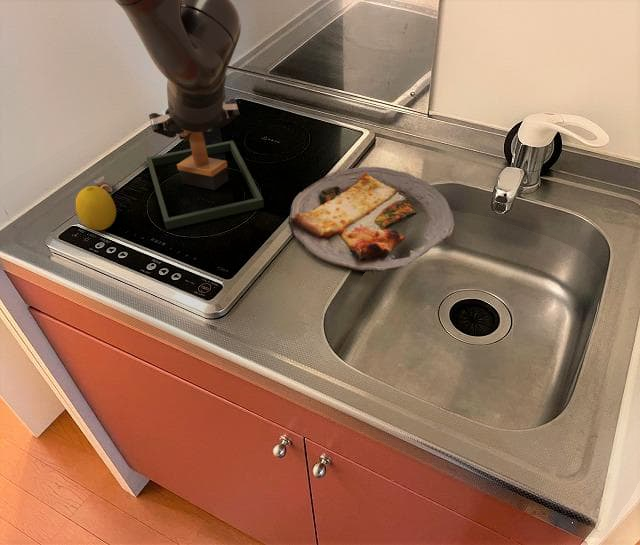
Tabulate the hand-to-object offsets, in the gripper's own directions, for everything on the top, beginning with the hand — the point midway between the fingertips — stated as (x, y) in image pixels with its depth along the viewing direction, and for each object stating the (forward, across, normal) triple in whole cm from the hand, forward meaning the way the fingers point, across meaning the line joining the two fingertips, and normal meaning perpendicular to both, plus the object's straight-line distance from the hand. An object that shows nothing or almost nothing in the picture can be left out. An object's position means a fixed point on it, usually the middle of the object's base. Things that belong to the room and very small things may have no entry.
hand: (194, 133), depth 94 cm
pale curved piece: (+6, +16, +6) cm, 19 cm away
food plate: (-10, -22, +22) cm, 33 cm away
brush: (+3, 0, +8) cm, 8 cm away
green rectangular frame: (+3, 0, +9) cm, 9 cm away
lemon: (0, +18, +12) cm, 21 cm away
